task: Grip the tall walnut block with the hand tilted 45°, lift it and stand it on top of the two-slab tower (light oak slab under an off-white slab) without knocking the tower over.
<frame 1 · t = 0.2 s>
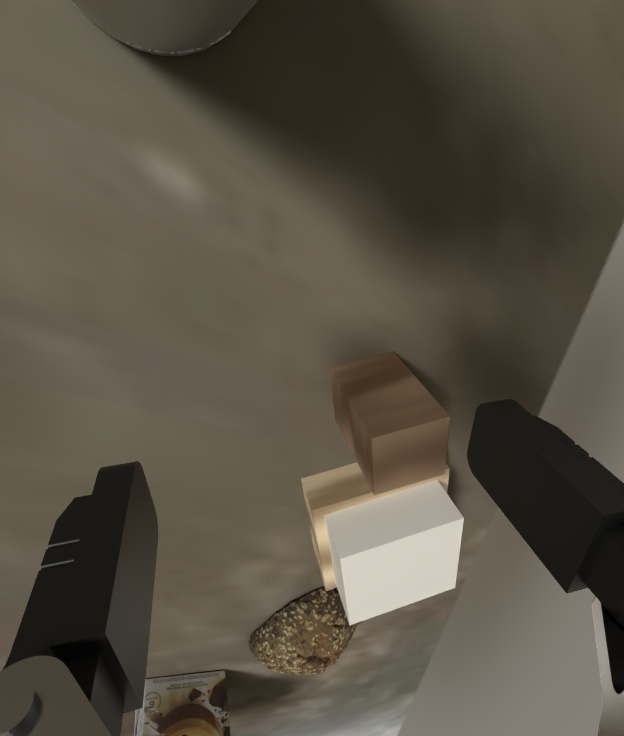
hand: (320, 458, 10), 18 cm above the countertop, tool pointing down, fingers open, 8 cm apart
bread roll: (309, 619, 50), on the countertop
tower top: (383, 533, 38), point 3 cm above the countertop, touching tower base
coffee box: (180, 685, 49), on the countertop
walnut block: (363, 386, 33), on the countertop
tower base: (367, 499, 41), on the countertop, touching tower top
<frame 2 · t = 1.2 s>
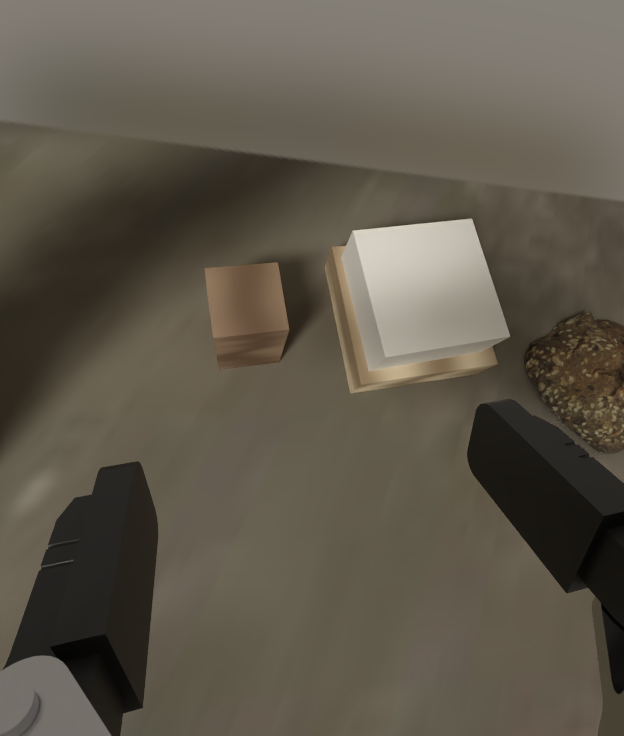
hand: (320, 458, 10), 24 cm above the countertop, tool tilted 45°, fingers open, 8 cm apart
bread roll: (588, 378, 41), on the countertop
tower top: (411, 304, 35), point 3 cm above the countertop, touching tower base
walnut block: (245, 337, 36), on the countertop
tower base: (397, 322, 39), on the countertop, touching tower top
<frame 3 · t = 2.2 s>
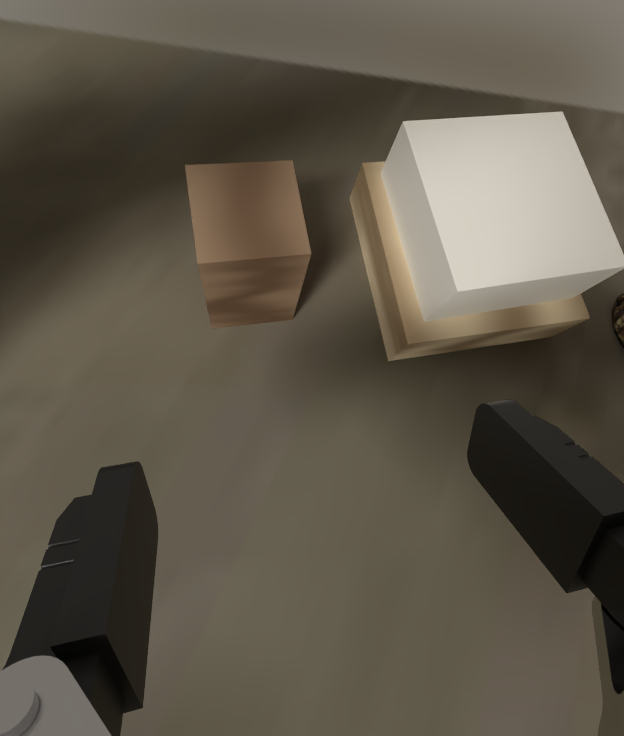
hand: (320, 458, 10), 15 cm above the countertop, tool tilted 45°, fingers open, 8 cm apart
tower top: (475, 235, 26), point 3 cm above the countertop, touching tower base
walnut block: (247, 287, 27), on the countertop
tower base: (445, 270, 30), on the countertop, touching tower top
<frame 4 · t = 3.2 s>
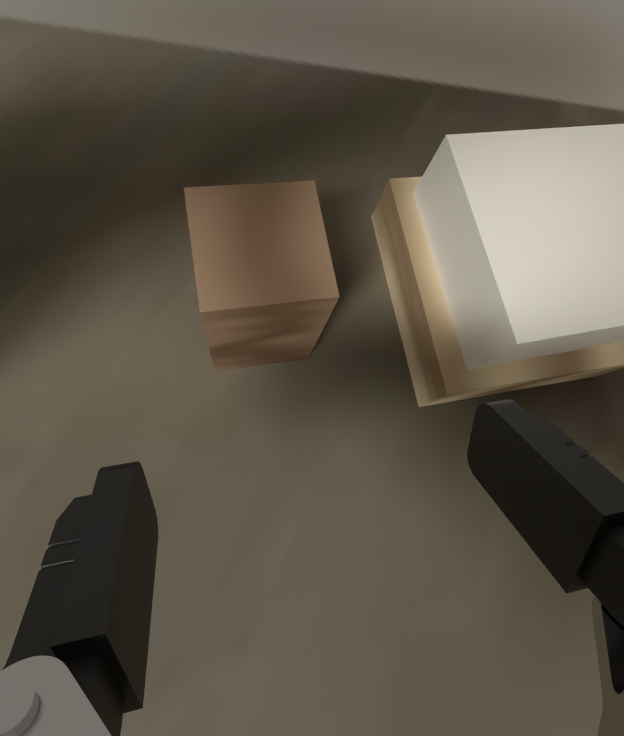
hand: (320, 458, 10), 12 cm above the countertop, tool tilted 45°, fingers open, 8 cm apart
tower top: (523, 265, 23), point 3 cm above the countertop
walnut block: (255, 321, 23), on the countertop
tower base: (480, 299, 26), on the countertop
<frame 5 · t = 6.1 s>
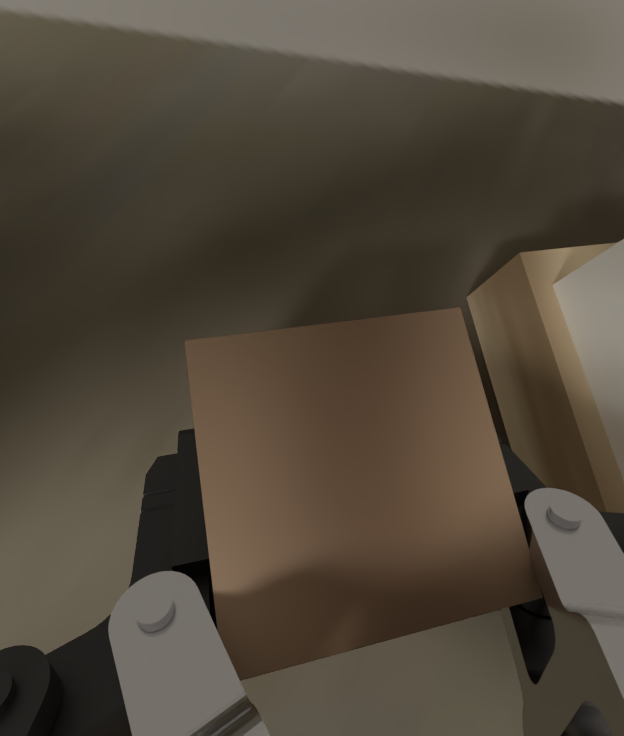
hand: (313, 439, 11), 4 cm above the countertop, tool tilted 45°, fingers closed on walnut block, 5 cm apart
walnut block: (300, 475, 14), on the countertop, touching gripper
when the fingers open (14 cm above the countertop, at t = 13.4 s): walnut block drops 2 cm, resting on tower top.
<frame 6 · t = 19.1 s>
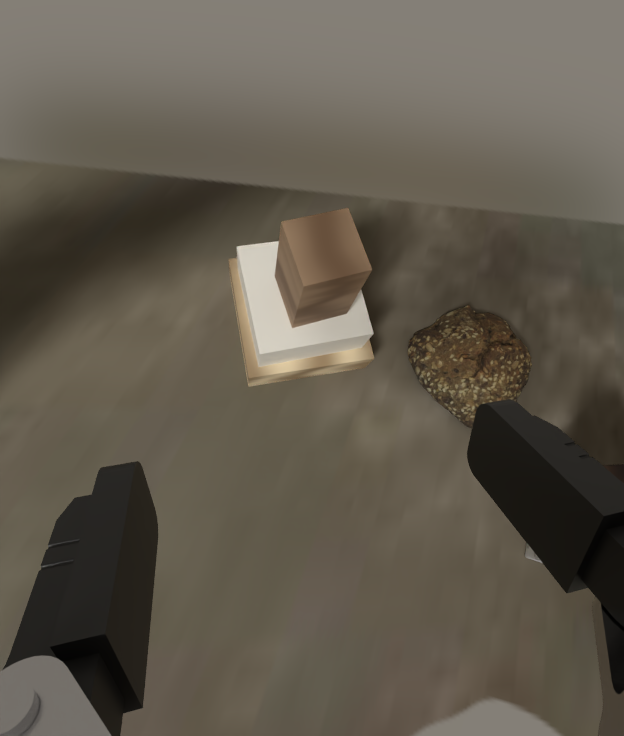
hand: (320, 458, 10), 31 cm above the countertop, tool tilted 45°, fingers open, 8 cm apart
bread roll: (468, 364, 46), on the countertop
tower top: (299, 308, 41), point 3 cm above the countertop, touching tower base, walnut block
coffee box: (556, 520, 43), on the countertop
walnut block: (310, 294, 37), point 7 cm above the countertop, touching tower top
tower base: (296, 323, 44), on the countertop, touching tower top
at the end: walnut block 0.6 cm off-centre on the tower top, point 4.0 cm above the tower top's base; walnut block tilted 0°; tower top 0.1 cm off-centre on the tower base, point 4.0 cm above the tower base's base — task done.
